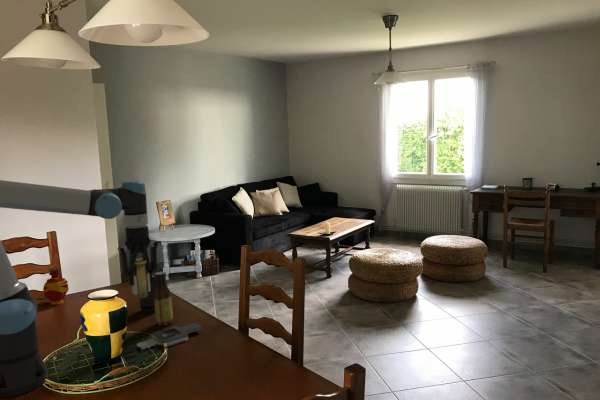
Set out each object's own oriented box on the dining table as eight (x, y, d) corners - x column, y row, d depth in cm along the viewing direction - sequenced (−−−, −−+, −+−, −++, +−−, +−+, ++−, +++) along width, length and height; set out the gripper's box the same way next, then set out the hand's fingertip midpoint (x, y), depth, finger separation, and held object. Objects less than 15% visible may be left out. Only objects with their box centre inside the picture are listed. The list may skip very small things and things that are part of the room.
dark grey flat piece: (144, 353, 152) (144, 346, 152) (134, 344, 159) (134, 338, 159) (204, 334, 167) (204, 328, 166) (193, 327, 173) (192, 320, 173)
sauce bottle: (175, 320, 180) (172, 270, 178) (169, 326, 174) (166, 275, 171) (159, 320, 181) (156, 270, 178) (152, 326, 175) (149, 275, 172)
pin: (137, 300, 159) (134, 263, 157) (131, 296, 163) (128, 260, 161) (152, 296, 162) (149, 260, 161) (146, 293, 166) (143, 257, 164)
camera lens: (149, 315, 186) (147, 279, 184) (135, 312, 190) (133, 276, 188) (164, 309, 193) (162, 273, 191) (151, 305, 197) (148, 271, 195)
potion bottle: (38, 307, 198) (35, 272, 196) (52, 298, 208) (49, 266, 206) (62, 306, 198) (59, 272, 196) (75, 298, 208) (72, 265, 206)
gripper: (115, 231, 151) (121, 300, 154) (164, 223, 162) (169, 288, 165) (107, 228, 156) (113, 295, 160) (155, 221, 168) (160, 284, 171)
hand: (141, 292), depth 162 cm, fingers closed on pin, 4 cm apart
